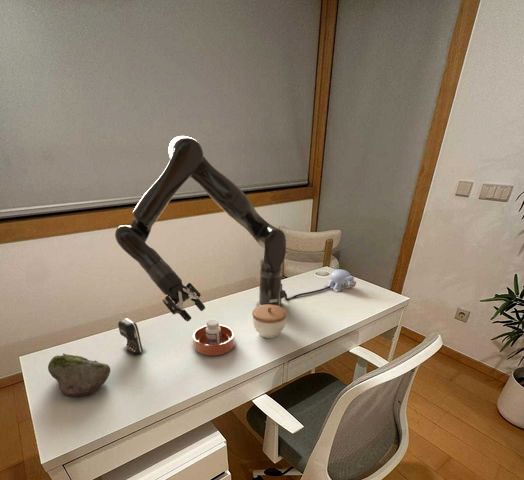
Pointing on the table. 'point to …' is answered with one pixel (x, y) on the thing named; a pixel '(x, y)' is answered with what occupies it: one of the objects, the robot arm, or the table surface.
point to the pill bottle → (213, 333)
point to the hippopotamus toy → (341, 279)
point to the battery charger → (131, 335)
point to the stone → (78, 374)
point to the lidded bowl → (269, 320)
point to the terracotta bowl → (217, 349)
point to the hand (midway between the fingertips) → (196, 314)
